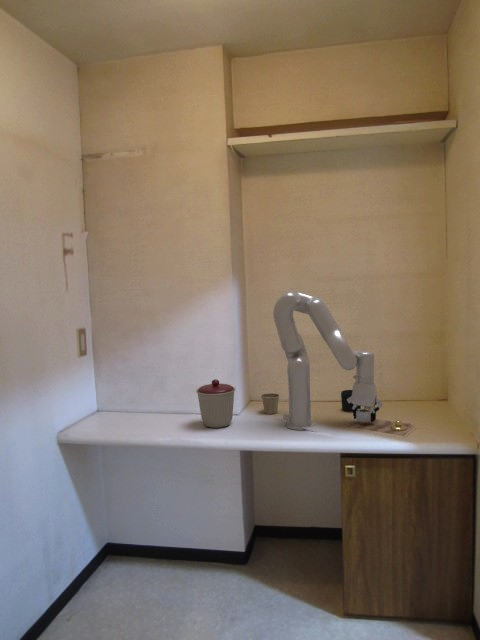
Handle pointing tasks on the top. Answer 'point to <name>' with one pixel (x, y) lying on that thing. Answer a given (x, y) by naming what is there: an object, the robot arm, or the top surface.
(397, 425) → the brass hub
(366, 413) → the steel ring
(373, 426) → the walnut board
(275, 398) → the flower pot
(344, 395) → the pen holder
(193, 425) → the top surface
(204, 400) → the canister
